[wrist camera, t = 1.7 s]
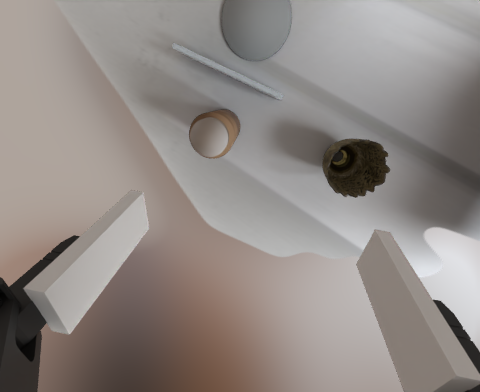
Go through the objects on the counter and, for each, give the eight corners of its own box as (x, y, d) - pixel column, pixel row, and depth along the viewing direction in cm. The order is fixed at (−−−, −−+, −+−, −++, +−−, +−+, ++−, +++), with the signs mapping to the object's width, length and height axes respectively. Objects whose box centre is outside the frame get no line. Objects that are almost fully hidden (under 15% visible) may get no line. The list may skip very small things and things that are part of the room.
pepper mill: (245, 117, 34) (239, 125, 23) (232, 148, 36) (221, 168, 25) (214, 103, 34) (193, 104, 23) (203, 135, 36) (179, 150, 25)
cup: (309, 139, 35) (323, 149, 27) (359, 125, 33) (388, 132, 26) (317, 183, 37) (332, 203, 30) (364, 172, 36) (391, 190, 29)
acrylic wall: (280, 95, 33) (284, 94, 29) (279, 99, 33) (281, 99, 29) (183, 49, 31) (173, 42, 28) (182, 54, 31) (172, 47, 28)
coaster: (304, -4, 28) (304, -5, 28) (272, 72, 32) (272, 72, 31) (238, -38, 27) (237, -40, 27) (212, 43, 31) (211, 42, 30)
